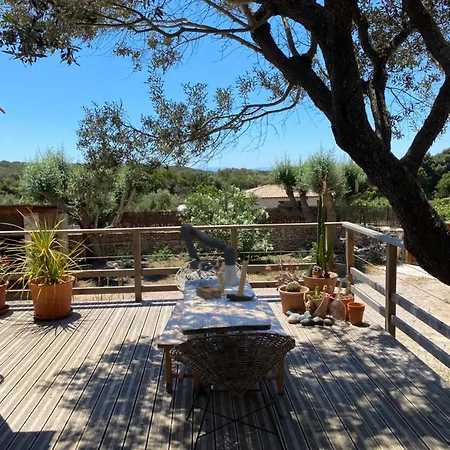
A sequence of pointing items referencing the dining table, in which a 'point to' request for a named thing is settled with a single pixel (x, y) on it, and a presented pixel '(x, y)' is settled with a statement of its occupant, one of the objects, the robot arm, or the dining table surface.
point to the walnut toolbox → (208, 292)
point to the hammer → (241, 286)
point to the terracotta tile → (224, 293)
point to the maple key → (220, 281)
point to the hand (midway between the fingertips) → (213, 269)
